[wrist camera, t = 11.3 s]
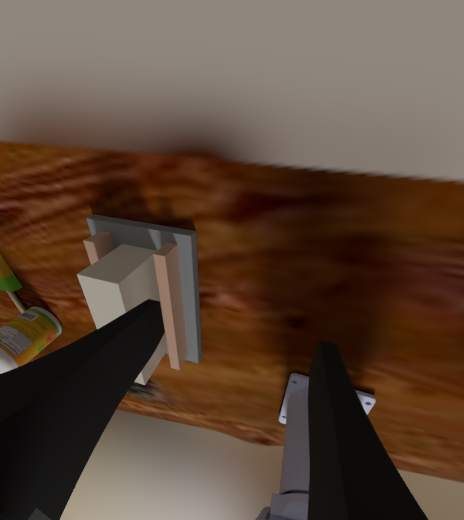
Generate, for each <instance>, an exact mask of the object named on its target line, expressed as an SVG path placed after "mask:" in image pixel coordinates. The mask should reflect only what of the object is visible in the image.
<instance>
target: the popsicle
mask: <svg viewBox="0 0 464 520" xmlns="http://www.w3.org/2000/svg"><path fill="white" fill-rule="evenodd" d="M20 288H22V286H21V284H20V283H19V281H18V280H17V278H16V277H15V275H14V274H13V272H12V271H11V269H10V268H9V266H8V265H7V263H6V262H5V260H4V259H3V257H2V256H1V254H0V290H3V291H6V292H7V293H8V295H9V296H10V298H11V299H12V300H13V302H14V303H15V305H16V306H17V307H18V309H19V310H20V311H21V313H23V312H25V311H26V309H25V308H24V306H23V305H22V303H21V302H20V301H19V299H18V298H17V296H16V295H15V293H14V292H13V291H17V290H19V289H20Z"/></svg>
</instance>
